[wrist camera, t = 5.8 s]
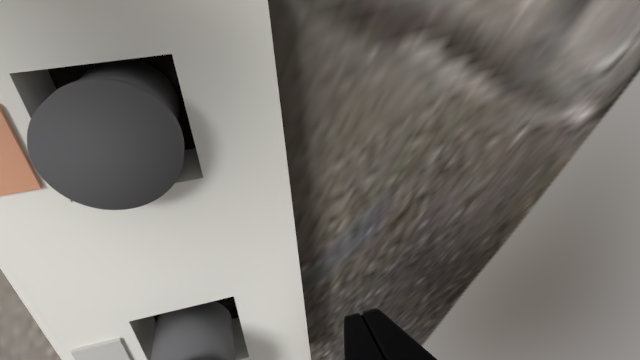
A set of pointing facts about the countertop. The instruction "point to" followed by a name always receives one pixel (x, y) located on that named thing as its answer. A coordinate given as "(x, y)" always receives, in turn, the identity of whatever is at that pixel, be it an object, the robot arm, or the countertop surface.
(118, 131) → the near button
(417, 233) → the countertop surface
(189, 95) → the panel
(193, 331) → the far button
